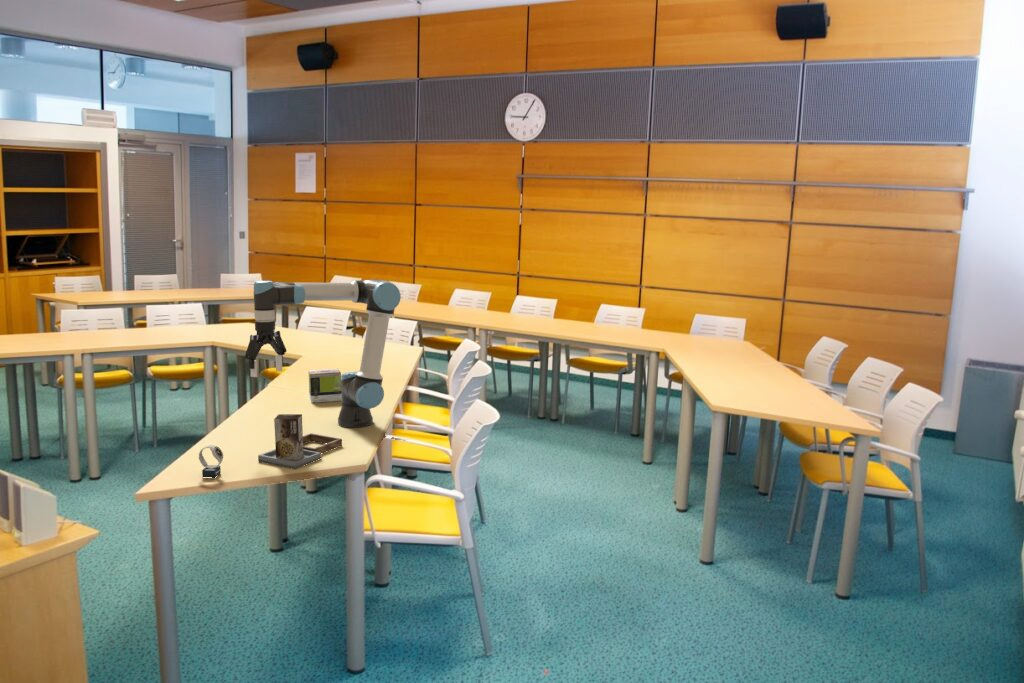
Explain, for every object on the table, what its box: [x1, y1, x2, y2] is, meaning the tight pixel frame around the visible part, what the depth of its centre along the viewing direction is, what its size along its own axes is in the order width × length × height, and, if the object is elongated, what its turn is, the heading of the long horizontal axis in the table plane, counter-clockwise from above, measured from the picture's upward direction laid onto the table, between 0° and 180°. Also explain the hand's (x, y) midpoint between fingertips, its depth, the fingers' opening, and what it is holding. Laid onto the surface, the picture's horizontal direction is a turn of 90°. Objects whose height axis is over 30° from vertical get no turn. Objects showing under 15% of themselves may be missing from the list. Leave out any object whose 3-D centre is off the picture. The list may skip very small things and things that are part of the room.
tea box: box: [308, 368, 342, 403], centre depth 390 cm, size 15×10×15 cm, turn 108°
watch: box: [198, 444, 224, 478], centre depth 277 cm, size 6×8×11 cm
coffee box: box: [273, 413, 304, 460], centre depth 295 cm, size 9×6×16 cm
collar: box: [303, 433, 343, 454], centre depth 312 cm, size 16×16×3 cm
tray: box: [257, 448, 322, 470], centre depth 297 cm, size 14×18×2 cm
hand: (266, 373), depth 313 cm, fingers open, 13 cm apart
